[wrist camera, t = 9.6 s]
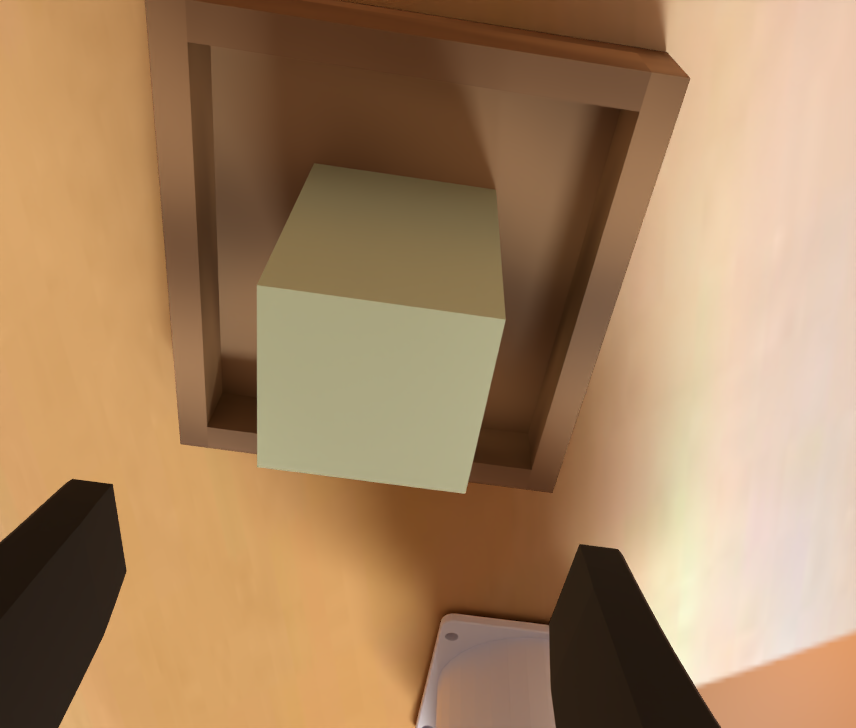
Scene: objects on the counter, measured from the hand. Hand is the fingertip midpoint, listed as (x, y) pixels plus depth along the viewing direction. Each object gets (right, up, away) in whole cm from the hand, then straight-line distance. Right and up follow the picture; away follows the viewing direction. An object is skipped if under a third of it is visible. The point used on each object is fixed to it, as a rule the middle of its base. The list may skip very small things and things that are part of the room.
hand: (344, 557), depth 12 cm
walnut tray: (0, +6, +8) cm, 10 cm away
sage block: (0, +6, +8) cm, 10 cm away
